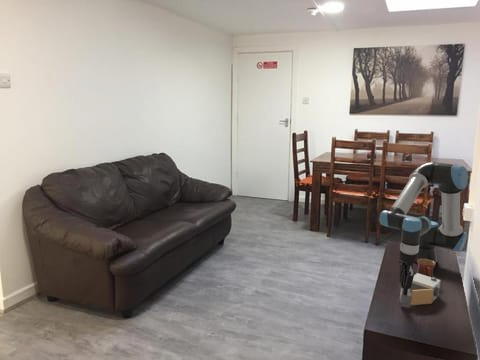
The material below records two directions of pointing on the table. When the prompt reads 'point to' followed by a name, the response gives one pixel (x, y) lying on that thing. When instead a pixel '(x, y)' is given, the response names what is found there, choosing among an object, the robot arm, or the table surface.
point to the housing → (425, 284)
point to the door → (418, 297)
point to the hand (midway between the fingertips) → (403, 299)
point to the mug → (426, 267)
